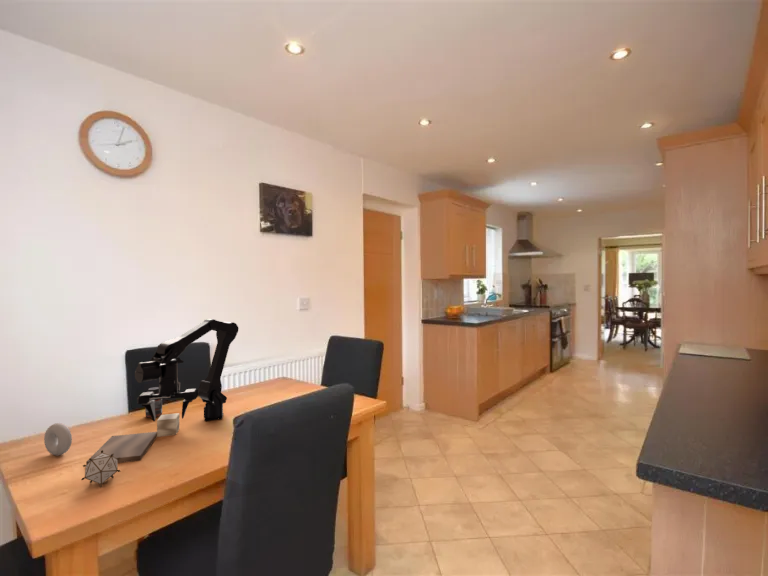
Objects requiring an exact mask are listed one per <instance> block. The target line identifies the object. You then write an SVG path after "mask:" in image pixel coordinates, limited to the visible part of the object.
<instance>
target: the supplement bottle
mask: <svg viewBox="0 0 768 576" xmlns="http://www.w3.org/2000/svg"><path fill="white" fill-rule="evenodd" d="M147 392H154V394H159V393H160V389H159V386H155V387H150V388H148V390H147ZM144 408H145V407H144ZM155 415H156V418H157V417H160V416H161V415H163V399H157V400H155ZM145 417H146V418H149V419H152V417H151V416H150V414H149V412H148V410H147V409H146V408H145Z"/></svg>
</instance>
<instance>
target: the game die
mask: <svg viewBox="0 0 768 576" xmlns="http://www.w3.org/2000/svg"><path fill="white" fill-rule="evenodd" d="M113 455H114V453H113V454H111V455H108V454H105V453H103V450H102V451H101V454H99V455H98V456H96V457H95V458H93V459H91V457H89V458H88V460H90V462H89V463H88V464H87V465H86V464H83V465H82V467H83V468H85V471H84V477H82V478H81V479H80V480H81V481H84V480H88V481H89V484H91V483H93V482H94V483H97V484H99V487H100V488H102V487H103V484H105V482H107V481H108V480H109V479H111V478H112V479H114V477H115V476H114V475H115V474H116V473H117V472H121V470H120V469H118V466H119V465H118V464H119V463H118V460H119V459H120V458H121V457H119V458H118V459H117V458H115V457H113Z"/></svg>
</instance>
